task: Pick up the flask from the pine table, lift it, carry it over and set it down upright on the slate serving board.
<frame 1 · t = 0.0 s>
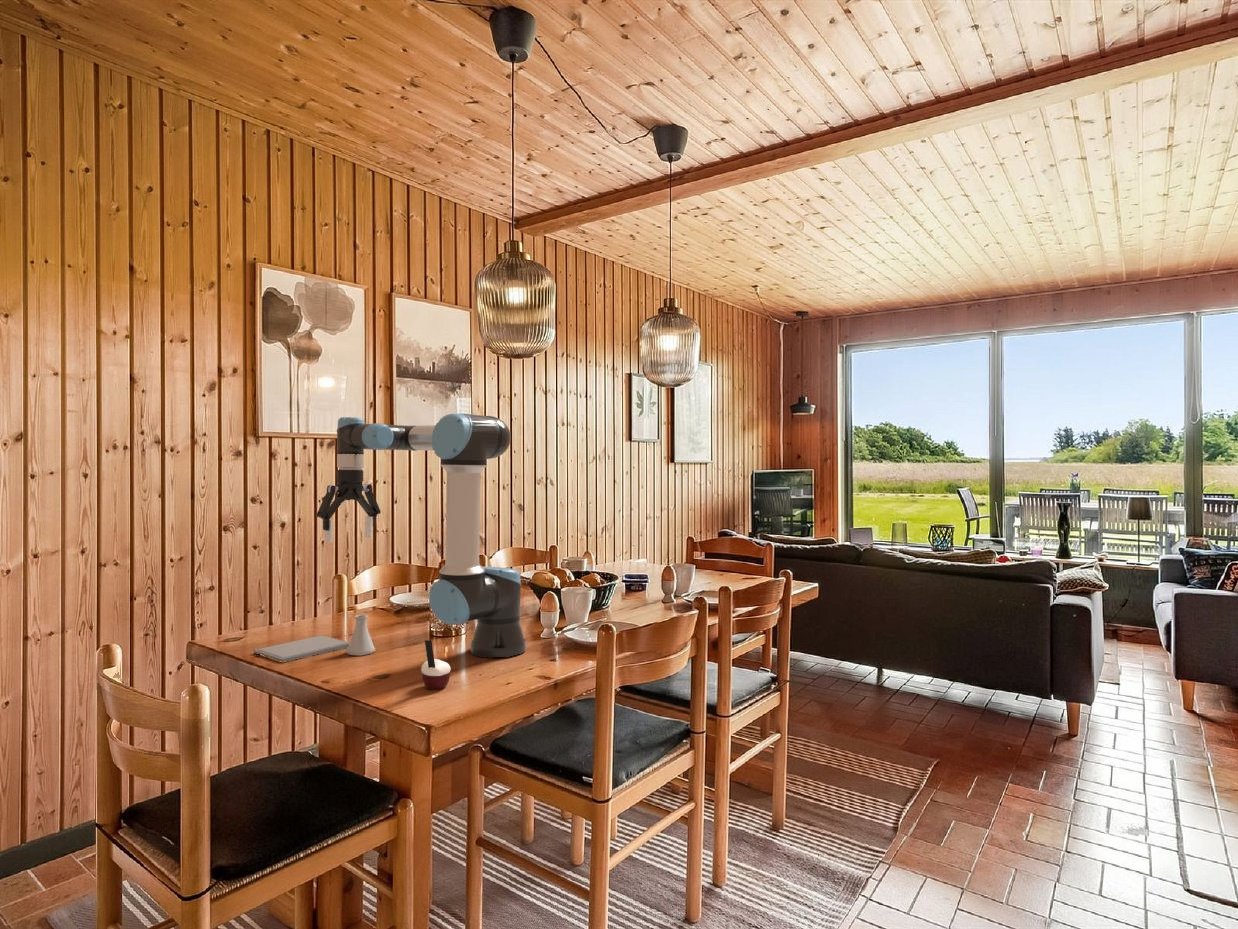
hand: (349, 539, 211), 28 cm above the table, tool pointing down, fingers open, 13 cm apart
slate board: (303, 650, 192), on the table
flask: (360, 653, 191), on the table
cocoa: (435, 688, 163), on the table
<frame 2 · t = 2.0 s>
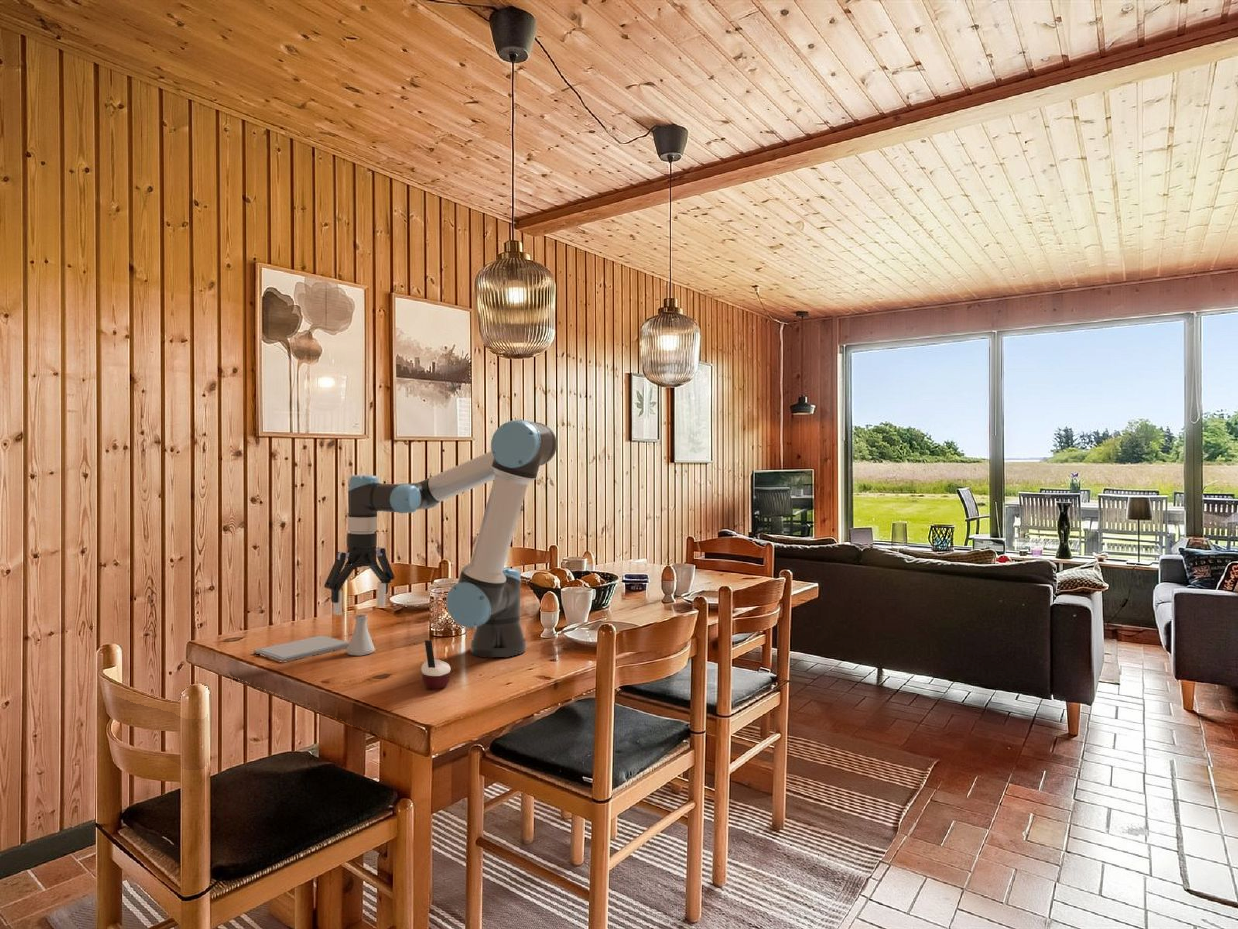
hand: (360, 610, 190), 11 cm above the table, tool pointing down, fingers open, 13 cm apart
nothing on the table moved.
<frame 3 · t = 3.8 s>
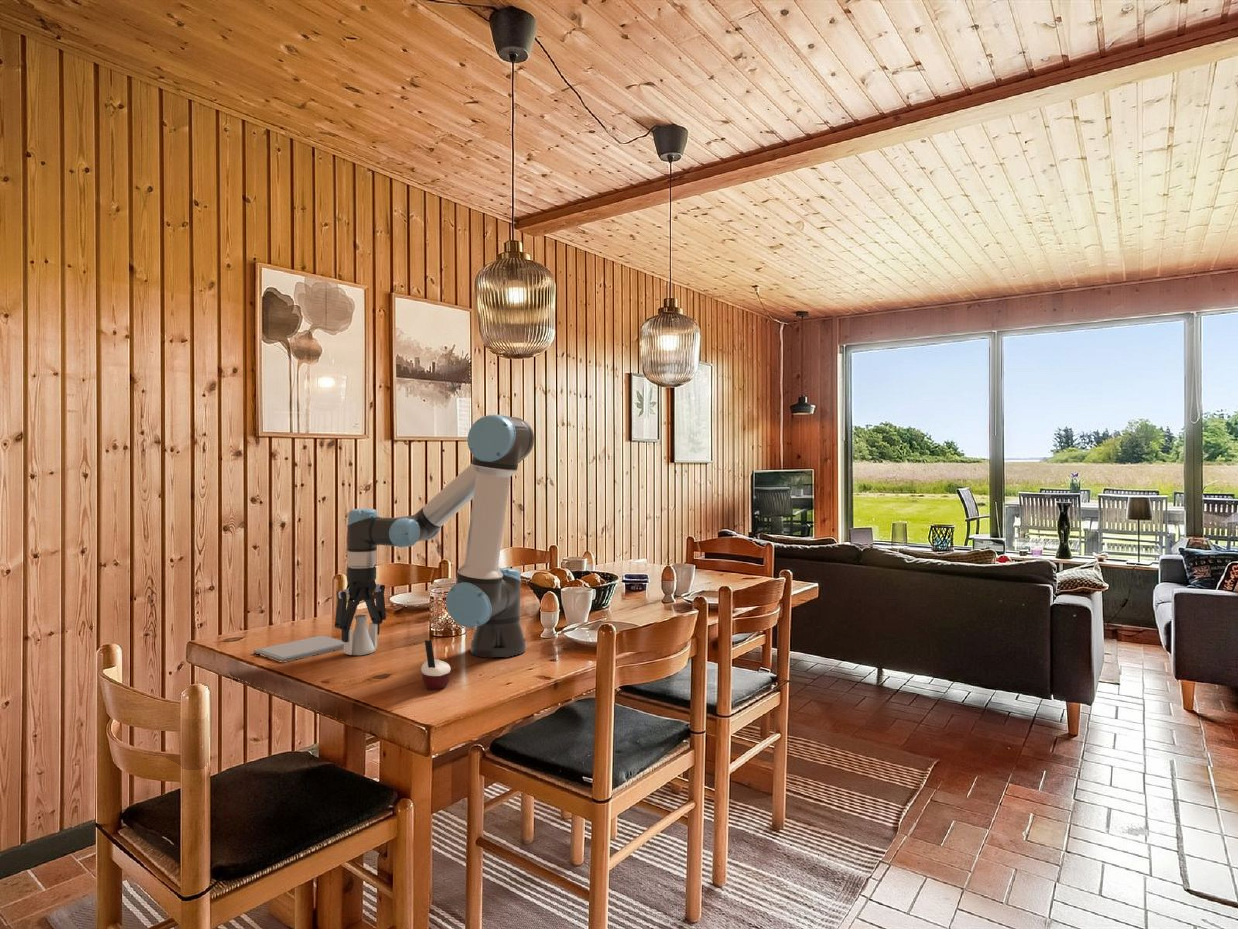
hand: (360, 650, 191), 1 cm above the table, tool pointing down, fingers closed on flask, 7 cm apart
flask: (360, 653, 191), on the table, touching gripper
everything else where it was.
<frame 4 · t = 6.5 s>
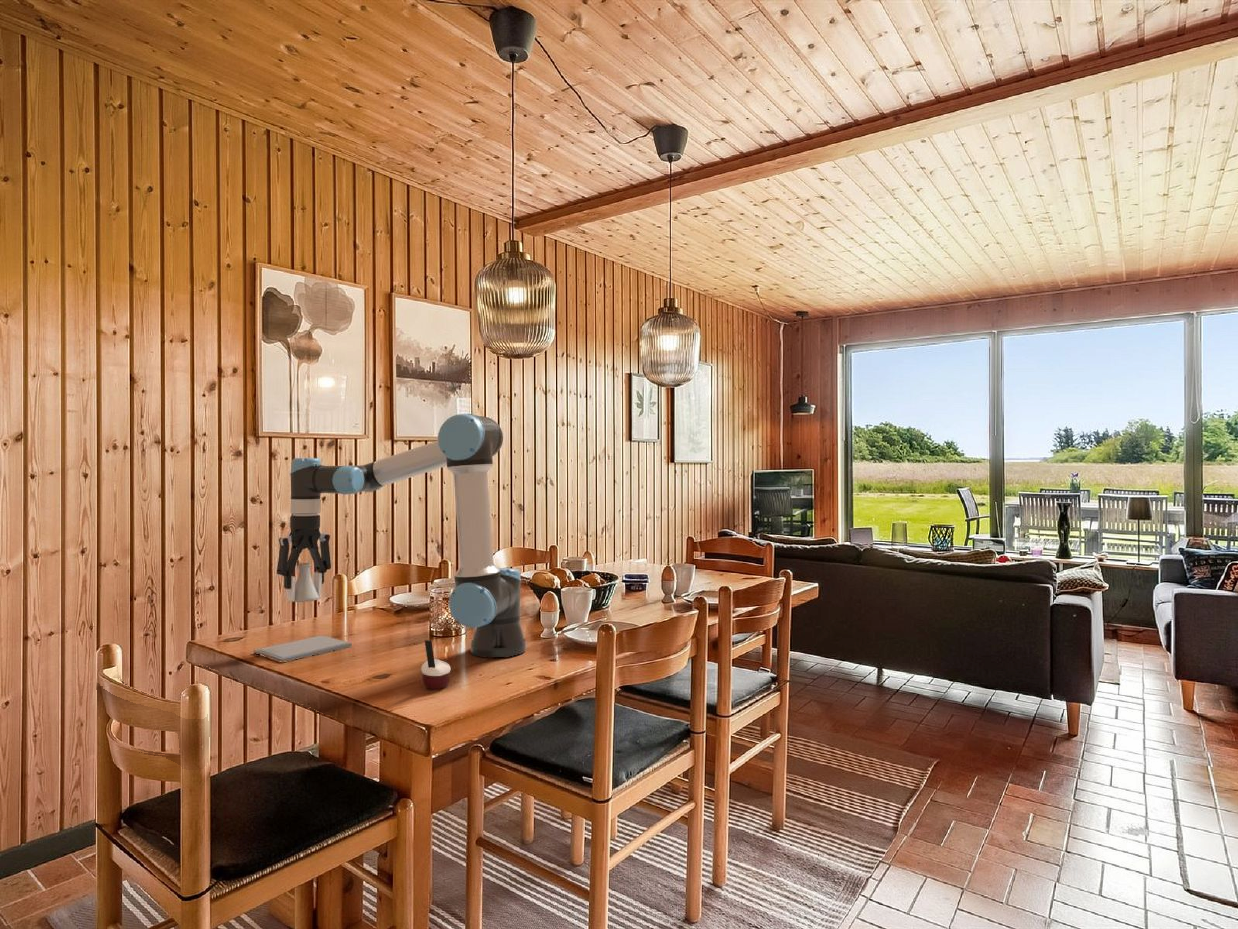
hand: (304, 598, 192), 14 cm above the table, tool pointing down, fingers closed on flask, 7 cm apart
flask: (304, 601, 192), point 13 cm above the table, touching gripper
everything else where it was.
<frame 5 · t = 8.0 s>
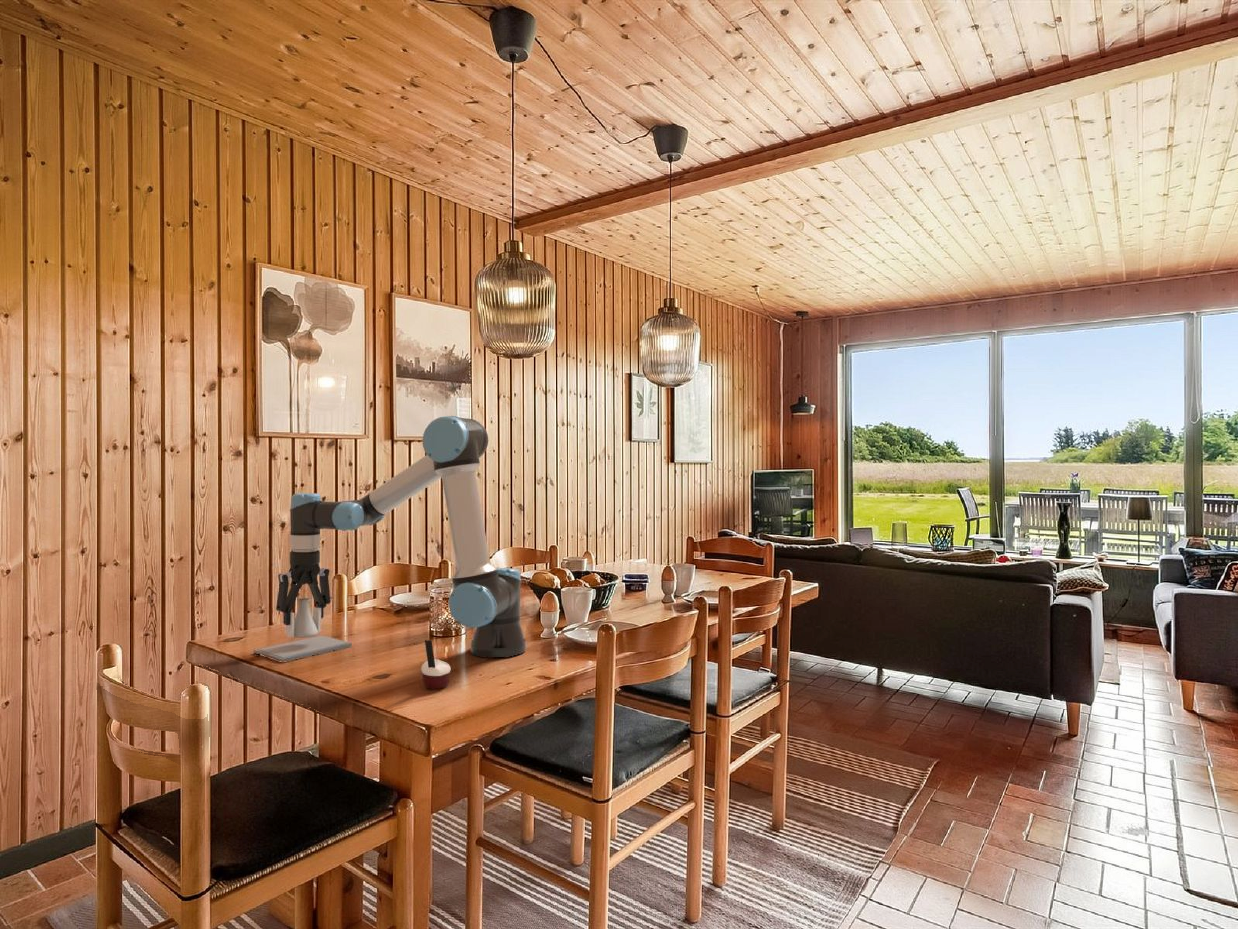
hand: (303, 633, 192), 5 cm above the table, tool pointing down, fingers closed on flask, 7 cm apart
flask: (303, 636, 192), point 4 cm above the table, touching gripper
everything else where it was.
when the fingers open (3 cm above the table, at t = 9.3 s): flask stays where it is, resting on slate board.
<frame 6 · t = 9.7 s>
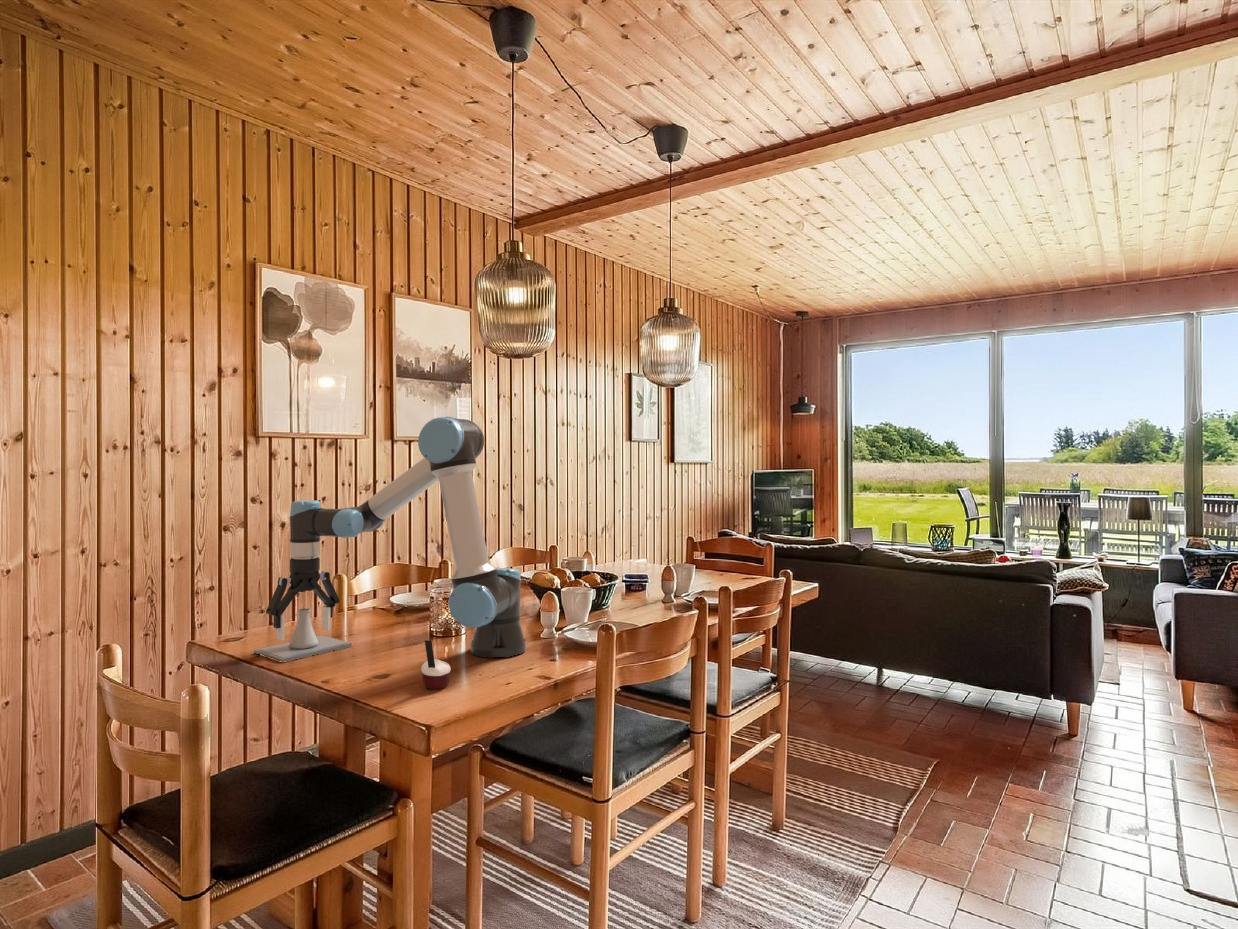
hand: (303, 635, 192), 4 cm above the table, tool pointing down, fingers open, 13 cm apart
flask: (303, 646, 192), point 1 cm above the table, touching slate board
everything else where it was.
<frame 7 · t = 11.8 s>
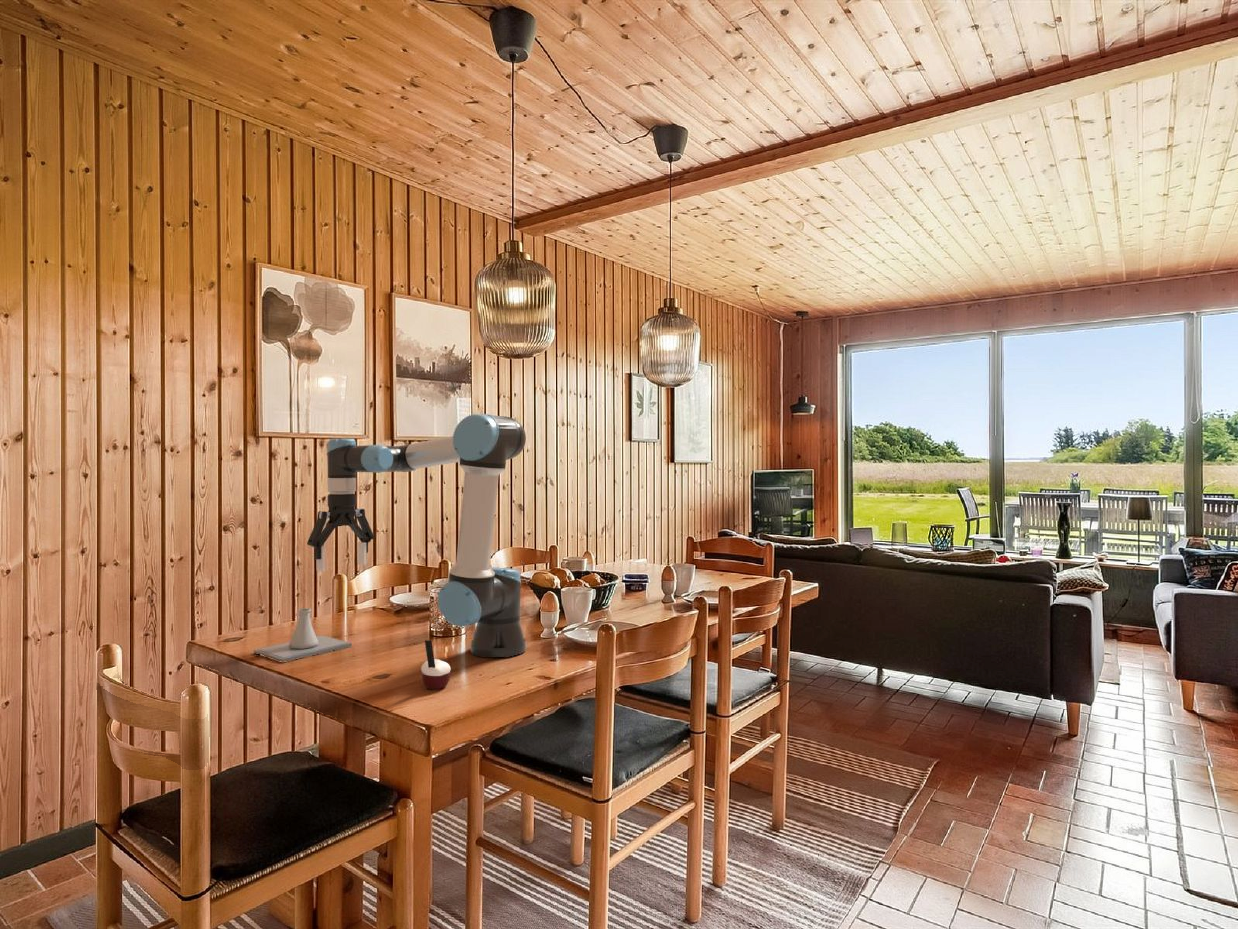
hand: (342, 567, 200), 21 cm above the table, tool pointing down, fingers open, 13 cm apart
nothing on the table moved.
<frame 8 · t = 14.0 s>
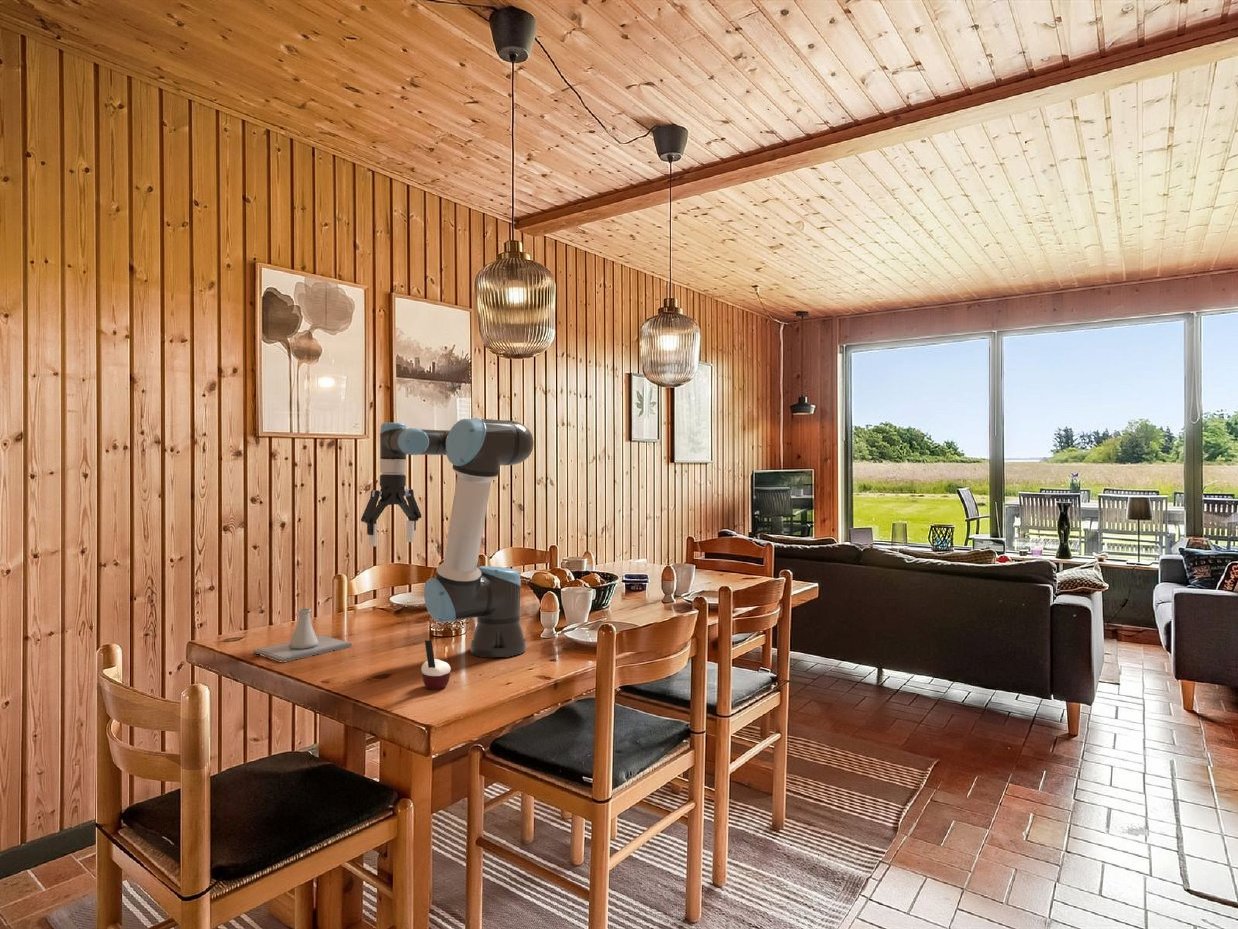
hand: (391, 544, 213), 27 cm above the table, tool pointing down, fingers open, 13 cm apart
nothing on the table moved.
at the end: flask inside the target area on the slate board (0.0 cm from its centre), point 0.9 cm above the slate board's base; flask tilted 0°; the gripper is holding nothing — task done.
